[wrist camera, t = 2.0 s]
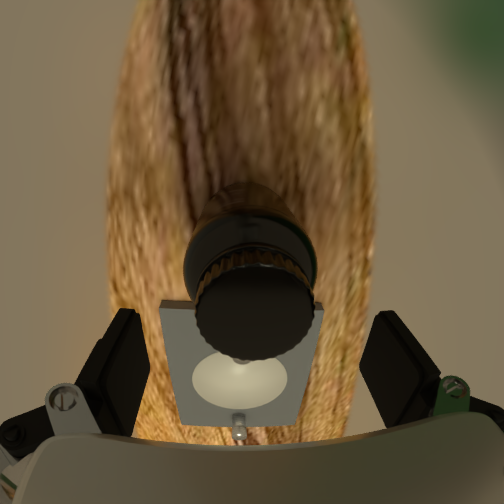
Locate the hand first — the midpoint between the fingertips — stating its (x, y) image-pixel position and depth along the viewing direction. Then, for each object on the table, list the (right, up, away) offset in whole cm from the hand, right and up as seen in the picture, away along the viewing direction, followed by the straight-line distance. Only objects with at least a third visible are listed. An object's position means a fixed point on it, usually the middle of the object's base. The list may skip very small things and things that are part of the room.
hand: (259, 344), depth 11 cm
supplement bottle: (-1, +6, +11) cm, 13 cm away
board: (-2, -9, +18) cm, 20 cm away
